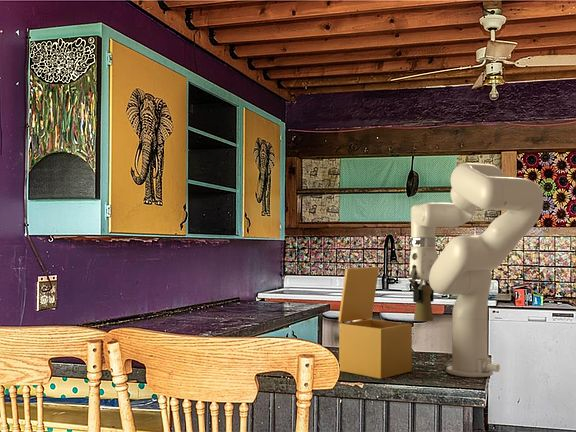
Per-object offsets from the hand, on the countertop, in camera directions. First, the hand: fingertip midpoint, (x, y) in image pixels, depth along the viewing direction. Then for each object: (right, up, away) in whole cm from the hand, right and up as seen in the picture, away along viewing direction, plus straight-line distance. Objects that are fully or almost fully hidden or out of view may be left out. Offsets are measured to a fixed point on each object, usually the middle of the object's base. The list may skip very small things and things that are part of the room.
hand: (423, 301), depth 214 cm
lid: (-22, +4, -16) cm, 27 cm away
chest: (-18, -17, -21) cm, 32 cm away
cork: (0, -6, 0) cm, 6 cm away
